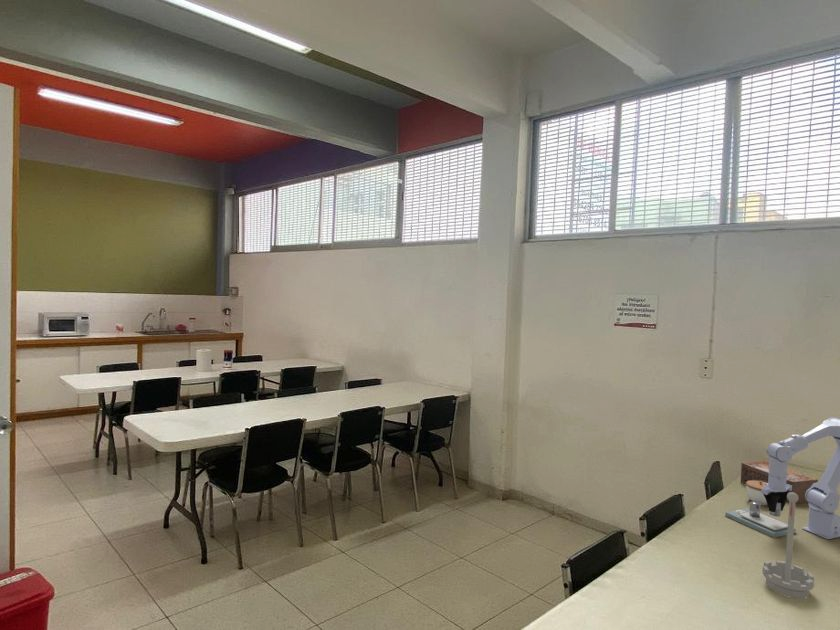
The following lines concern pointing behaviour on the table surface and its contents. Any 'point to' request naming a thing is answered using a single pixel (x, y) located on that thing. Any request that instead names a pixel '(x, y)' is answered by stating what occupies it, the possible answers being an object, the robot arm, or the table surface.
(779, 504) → the cylinder
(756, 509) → the cylinder
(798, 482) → the tissue box cover
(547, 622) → the table surface
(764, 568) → the flag stand
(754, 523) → the scale
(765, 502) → the lidded jar
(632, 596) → the table surface
